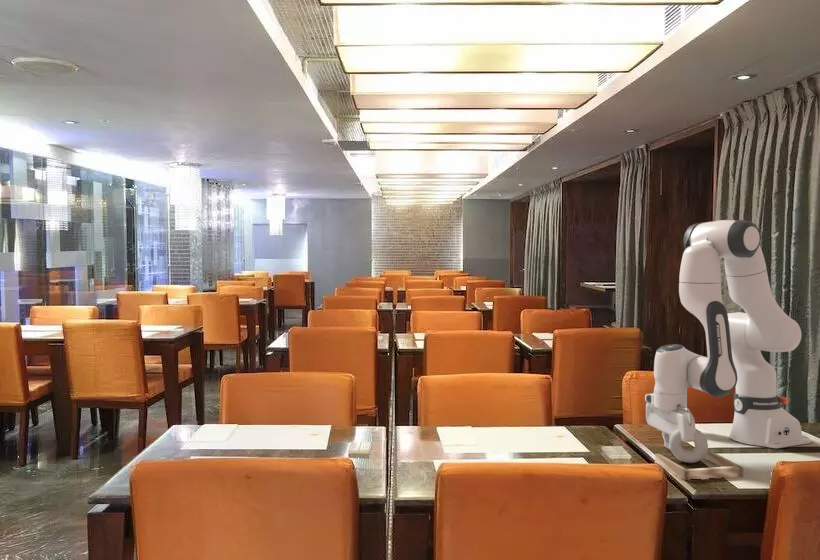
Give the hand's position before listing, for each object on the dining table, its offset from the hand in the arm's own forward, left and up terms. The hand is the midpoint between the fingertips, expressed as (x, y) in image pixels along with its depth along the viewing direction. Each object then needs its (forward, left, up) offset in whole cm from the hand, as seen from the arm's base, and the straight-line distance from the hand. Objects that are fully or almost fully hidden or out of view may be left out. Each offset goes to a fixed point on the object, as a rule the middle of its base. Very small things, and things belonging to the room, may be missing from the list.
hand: (669, 448), depth 188 cm
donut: (-1, +8, -2) cm, 8 cm away
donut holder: (0, +14, -2) cm, 14 cm away
